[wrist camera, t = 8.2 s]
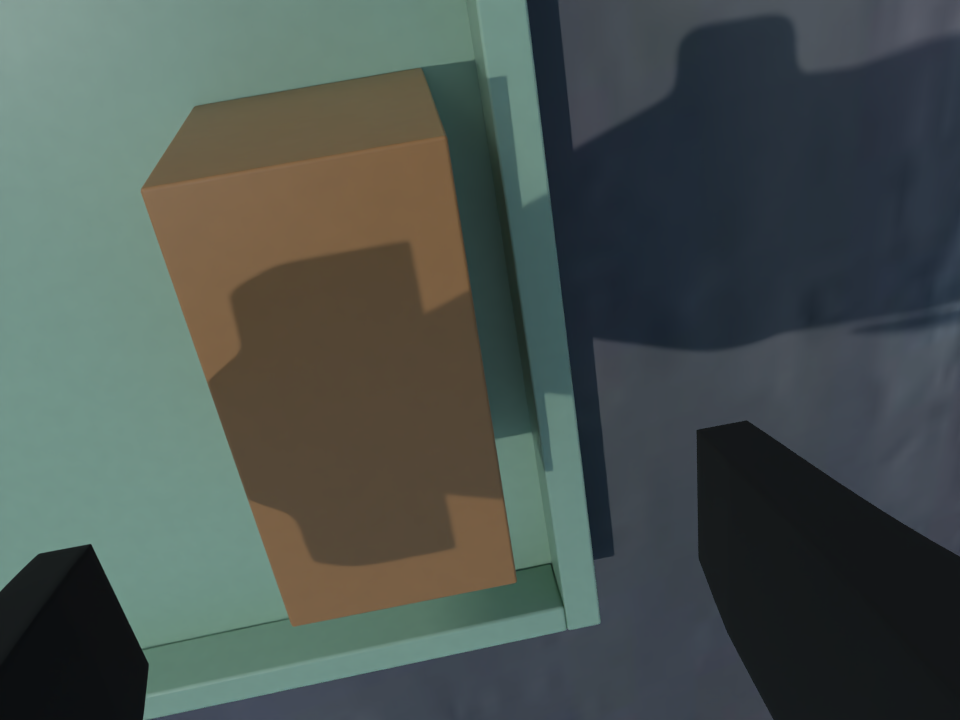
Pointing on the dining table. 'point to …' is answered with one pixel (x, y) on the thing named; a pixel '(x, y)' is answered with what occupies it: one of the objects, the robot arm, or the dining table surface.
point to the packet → (339, 339)
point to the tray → (174, 361)
